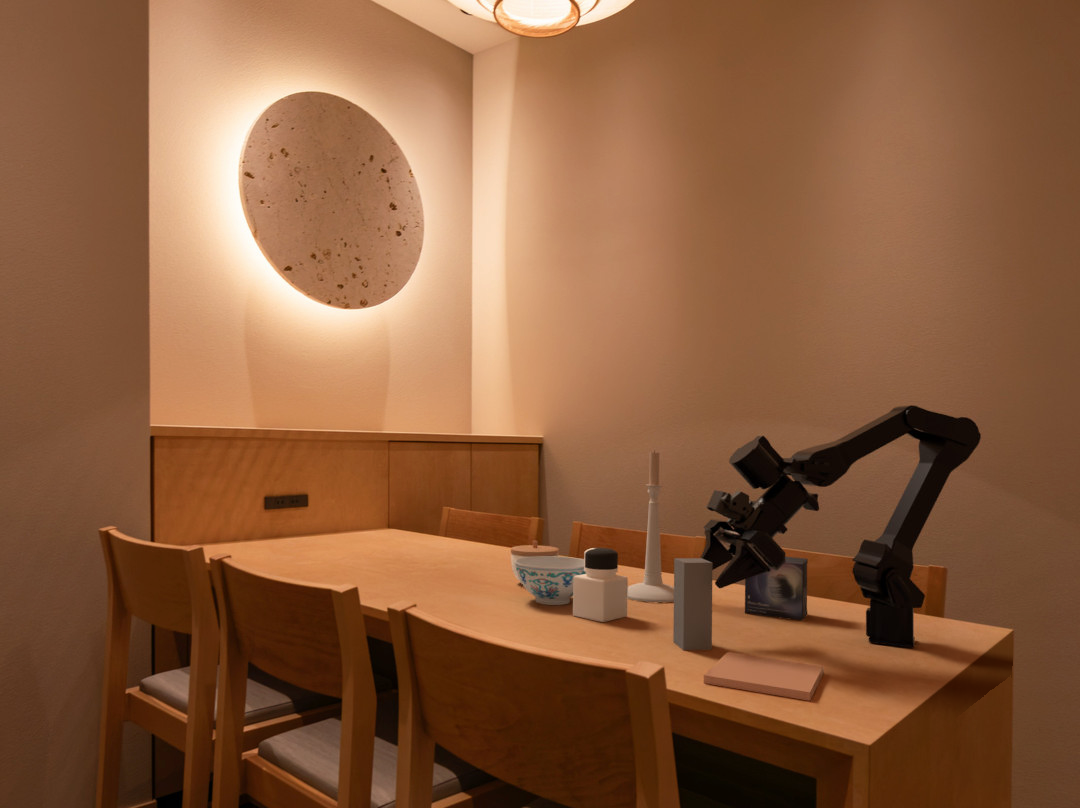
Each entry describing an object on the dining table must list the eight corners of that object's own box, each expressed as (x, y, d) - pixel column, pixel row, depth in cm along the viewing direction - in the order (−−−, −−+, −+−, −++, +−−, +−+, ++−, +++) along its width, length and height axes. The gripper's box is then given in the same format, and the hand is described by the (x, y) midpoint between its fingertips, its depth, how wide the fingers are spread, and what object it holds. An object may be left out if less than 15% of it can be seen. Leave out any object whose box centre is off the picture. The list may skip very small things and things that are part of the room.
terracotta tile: (823, 673, 102) (823, 665, 102) (809, 700, 90) (809, 692, 90) (727, 659, 108) (727, 651, 108) (703, 683, 96) (703, 675, 96)
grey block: (700, 641, 117) (701, 558, 118) (711, 649, 113) (712, 562, 113) (673, 642, 116) (674, 558, 117) (683, 650, 112) (684, 562, 113)
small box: (743, 614, 138) (743, 557, 139) (750, 607, 144) (751, 553, 145) (802, 621, 133) (802, 562, 134) (808, 614, 139) (808, 557, 140)
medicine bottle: (628, 616, 134) (629, 549, 134) (603, 623, 128) (604, 552, 129) (596, 610, 139) (598, 545, 139) (571, 616, 133) (573, 548, 134)
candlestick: (615, 599, 149) (617, 449, 151) (628, 588, 161) (630, 449, 163) (679, 605, 145) (681, 450, 147) (688, 593, 157) (689, 451, 159)
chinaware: (546, 591, 156) (547, 553, 157) (605, 601, 147) (606, 562, 147) (498, 601, 145) (499, 561, 145) (559, 613, 135) (560, 570, 136)
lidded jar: (567, 583, 166) (568, 540, 167) (542, 590, 157) (542, 545, 158) (527, 577, 172) (528, 536, 172) (500, 584, 163) (501, 541, 163)
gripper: (716, 471, 127) (652, 536, 124) (766, 475, 108) (692, 551, 106) (759, 518, 127) (696, 584, 125) (816, 530, 109) (744, 607, 106)
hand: (705, 580), depth 115 cm, fingers open, 9 cm apart
